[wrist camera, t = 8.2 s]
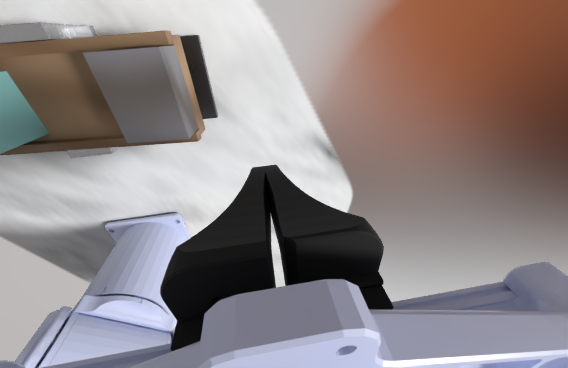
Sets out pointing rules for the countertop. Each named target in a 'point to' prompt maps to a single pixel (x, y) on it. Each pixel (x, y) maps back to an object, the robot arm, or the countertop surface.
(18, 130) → the block
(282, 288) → the robot arm
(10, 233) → the countertop surface
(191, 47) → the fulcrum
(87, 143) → the beam
